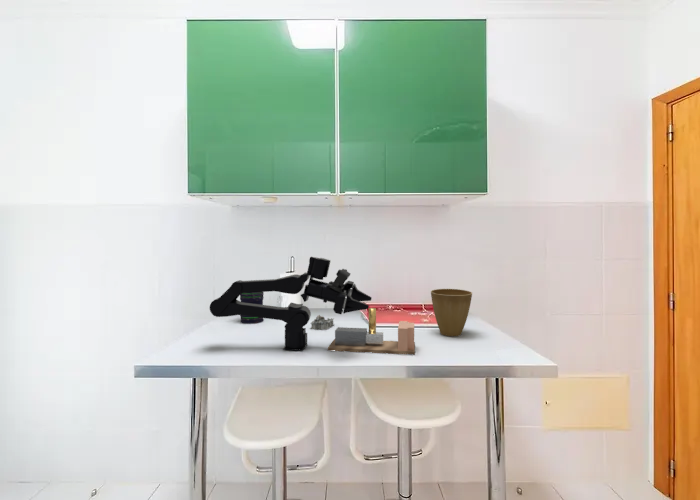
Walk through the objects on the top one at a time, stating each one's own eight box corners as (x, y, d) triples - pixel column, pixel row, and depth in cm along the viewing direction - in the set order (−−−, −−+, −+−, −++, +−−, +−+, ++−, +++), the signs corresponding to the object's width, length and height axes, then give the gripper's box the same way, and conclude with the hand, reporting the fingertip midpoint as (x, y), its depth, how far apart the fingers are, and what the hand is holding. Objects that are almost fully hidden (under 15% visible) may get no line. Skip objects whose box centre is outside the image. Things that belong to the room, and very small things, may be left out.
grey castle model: (319, 324, 167) (319, 314, 167) (336, 325, 165) (336, 315, 165) (308, 329, 157) (308, 319, 157) (326, 331, 155) (326, 320, 155)
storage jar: (235, 322, 169) (234, 287, 168) (251, 318, 178) (250, 284, 177) (253, 324, 164) (252, 288, 164) (268, 320, 173) (268, 285, 172)
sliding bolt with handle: (340, 341, 132) (340, 308, 131) (341, 339, 135) (341, 306, 134) (382, 343, 130) (382, 309, 129) (383, 341, 132) (383, 308, 132)
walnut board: (327, 350, 128) (327, 347, 128) (334, 341, 139) (334, 338, 139) (414, 354, 124) (414, 351, 124) (414, 344, 135) (414, 342, 135)
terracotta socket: (397, 350, 125) (398, 328, 125) (399, 341, 135) (399, 321, 135) (414, 351, 124) (414, 328, 124) (414, 342, 134) (414, 321, 134)
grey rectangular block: (335, 345, 131) (335, 330, 131) (337, 341, 136) (337, 327, 136) (365, 346, 130) (365, 331, 129) (367, 342, 134) (367, 328, 134)
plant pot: (422, 331, 153) (423, 289, 152) (455, 328, 159) (455, 287, 158) (445, 341, 139) (445, 295, 139) (480, 337, 145) (480, 293, 144)
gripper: (322, 273, 120) (372, 286, 118) (334, 262, 138) (378, 273, 136) (314, 308, 122) (364, 321, 120) (327, 292, 140) (370, 303, 138)
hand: (369, 302), depth 129 cm, fingers open, 9 cm apart
